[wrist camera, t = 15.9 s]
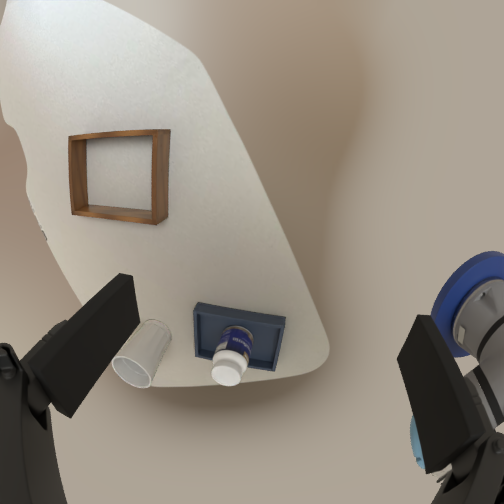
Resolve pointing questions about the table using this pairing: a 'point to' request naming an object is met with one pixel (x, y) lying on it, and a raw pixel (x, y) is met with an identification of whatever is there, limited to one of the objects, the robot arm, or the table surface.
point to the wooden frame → (115, 213)
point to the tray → (260, 325)
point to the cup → (142, 354)
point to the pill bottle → (232, 355)
